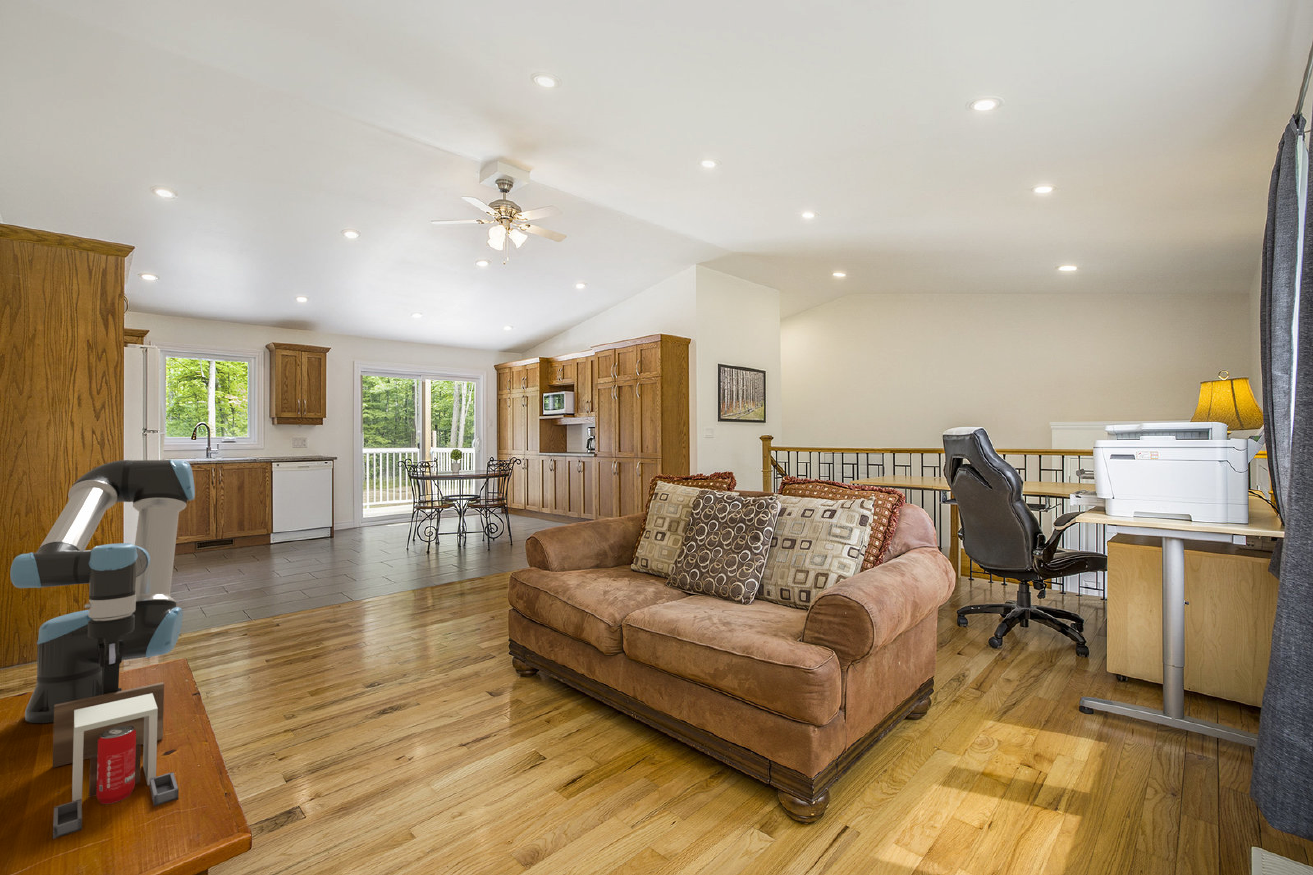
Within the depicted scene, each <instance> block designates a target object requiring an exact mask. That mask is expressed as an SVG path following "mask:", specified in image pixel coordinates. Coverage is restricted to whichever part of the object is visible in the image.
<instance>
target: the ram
mask: <svg viewBox="0 0 1313 875" xmlns="http://www.w3.org/2000/svg"><path fill="white" fill-rule="evenodd" d="M151 693H153V696H154V699H155V702H156V705H157V708H158V714H157V741H160V740H163V738H164V705H165V704H164V703H165V701H164V700H165V682H163V681H162V682H156V683H152V684H148V685H143V686H137V687H134V688H133V687H132V688H129V689H124V690H122V691H118V692H113V693H109V694H104V695H99V696H94V697H90V698H85V699H80V700H75V701H70V702H66V703H61V704H56V705H54V722H53V730H52V731H53V732H52V733H53V734H52V736H53V737H52V738H53V739H52V740H53V741H52V742H53V743H52V766H51V767H52V768H56V767H57V768H58V767H60V766H65V765H69V764H73V739H74V710H77V709H82V708H87V707H91V706H96V705H100V704H105V703H109V702H114V701H119V700H123V699H128V698H132V697H137V696H142V695H146V694H151ZM120 726H134V729H135V731H136V758H135V785H136V784H139V783H141V760H142V759H141V755H142V751H141V750H142V749H141V748H142V745H144V717H141V718H137V719H133V720H129V721H125V722H120V723H116V724H112V725H108V726H104V727H99V728H95V729H91V730H87V731H84V741H83V761H85V760H86V759H87V760H88V759H89V787H88V788H89V791H88V797H89V798H92V797H95V796H96V793H97V755H98V740H99V738H100V735H101V734H102V733H103V732H105V731H107V730H109V729H112V728H115V727H120Z"/></svg>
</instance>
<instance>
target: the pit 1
mask: <svg viewBox="0 0 1313 875" xmlns="http://www.w3.org/2000/svg"><path fill="white" fill-rule="evenodd" d="M82 805H83V803H81V799H80V800H76V801H73V802H72V801H71V802H67V803H63V804H59V805H57V806H54V807H53V822H52V823H53V825H52V839H53V840H55V839H57V838H61V837H64V836H67V835H70V834H73V833H76V832H80V831H82V829H83V811H82V810H83V807H82Z"/></svg>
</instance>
